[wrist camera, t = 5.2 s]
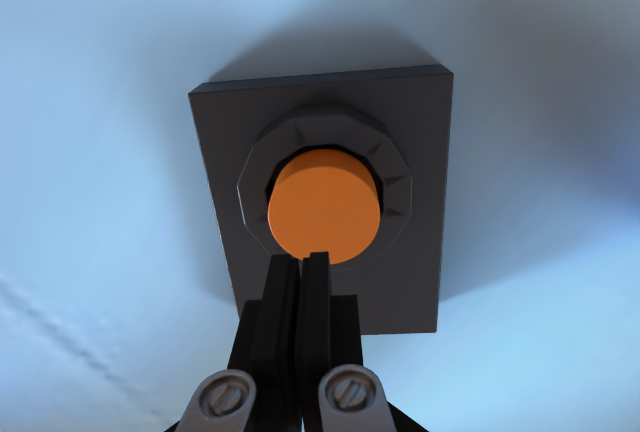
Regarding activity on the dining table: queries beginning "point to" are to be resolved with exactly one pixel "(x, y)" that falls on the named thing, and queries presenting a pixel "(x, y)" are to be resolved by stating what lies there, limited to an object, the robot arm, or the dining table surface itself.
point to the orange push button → (324, 206)
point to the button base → (356, 140)
